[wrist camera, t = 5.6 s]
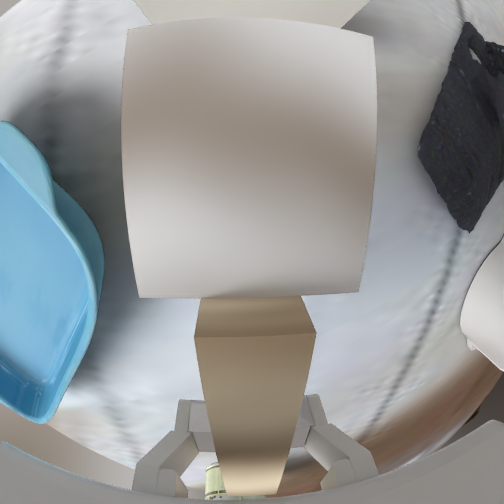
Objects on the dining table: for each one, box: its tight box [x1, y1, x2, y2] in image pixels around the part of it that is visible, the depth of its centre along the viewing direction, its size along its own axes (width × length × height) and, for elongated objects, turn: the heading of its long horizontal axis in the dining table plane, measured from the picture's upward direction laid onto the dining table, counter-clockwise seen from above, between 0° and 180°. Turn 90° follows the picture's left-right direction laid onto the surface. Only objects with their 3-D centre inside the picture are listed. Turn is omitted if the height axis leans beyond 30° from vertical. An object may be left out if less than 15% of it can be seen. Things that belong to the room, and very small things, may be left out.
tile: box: [133, 0, 371, 29], centre depth 10 cm, size 2×10×10 cm, turn 89°
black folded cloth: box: [418, 22, 504, 233], centre depth 15 cm, size 15×22×5 cm
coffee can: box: [205, 462, 266, 500], centre depth 29 cm, size 10×10×14 cm
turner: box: [121, 17, 377, 496], centre depth 8 cm, size 19×6×4 cm, turn 0°
